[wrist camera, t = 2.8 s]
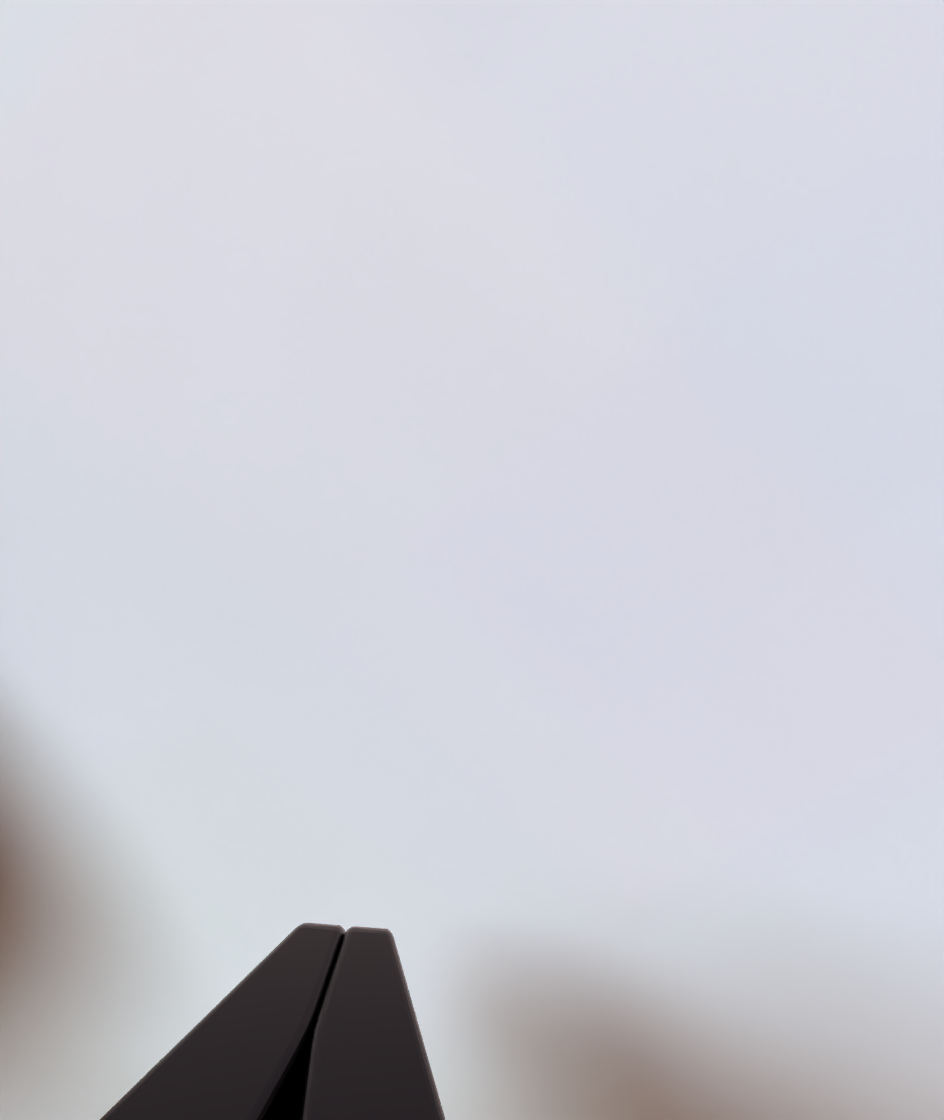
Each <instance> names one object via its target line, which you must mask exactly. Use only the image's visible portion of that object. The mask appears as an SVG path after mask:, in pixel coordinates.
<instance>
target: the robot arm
mask: <svg viewBox="0 0 944 1120" xmlns="http://www.w3.org/2000/svg"><path fill="white" fill-rule="evenodd" d="M100 1120H445V1117H444V1113H443V1110H442V1106H441V1103H440V1099H439V1096H438V1092H437V1089H436V1085H435V1082H434V1078H433V1075H432V1071H431V1068H430V1064H429V1061H428V1057H427V1054H426V1050H425V1046H424V1043H423V1039H422V1036H421V1032H420V1029H419V1025H418V1022H417V1018H416V1015H415V1011H414V1008H413V1004H412V1001H411V997H410V994H409V990H408V987H407V983H406V980H405V976H404V972H403V969H402V965H401V962H400V958H399V955H398V951H397V948H396V944H395V941H394V937H393V935H392V933H391V932H390V931H389V930H387V929H381V928H368V927H351V928H349V929H348V930H347V931H346V932H345V930H344V929H343V928H342V927H341V926H339V925H328V924H315V923H304V924H302V925H300V926H298V927H297V928H295V929H294V930H293V931H292V932H291V933H290V934H289V935H288V936H287V937H286V938H285V939H284V940H283V941H282V942H281V943H280V944H279V945H278V946H277V947H276V948H275V949H274V950H273V951H272V952H271V953H270V954H269V955H268V956H267V957H266V958H265V959H264V960H263V961H262V962H261V963H260V964H259V965H258V966H257V967H256V968H255V969H254V970H253V971H251V972H250V973H249V974H248V975H247V976H246V977H245V978H244V979H243V980H242V981H241V982H240V983H239V984H238V985H237V986H236V987H235V988H234V989H233V990H232V991H231V992H230V993H229V994H228V995H227V996H226V997H225V998H224V999H223V1000H222V1001H221V1002H220V1003H219V1004H218V1005H217V1006H216V1007H215V1008H214V1009H213V1010H212V1011H211V1012H210V1013H209V1014H208V1015H206V1016H205V1017H204V1018H203V1019H202V1020H201V1021H200V1022H199V1023H198V1024H197V1025H196V1026H195V1027H194V1028H193V1029H192V1030H191V1031H190V1032H189V1033H188V1034H187V1035H186V1036H185V1037H184V1038H183V1039H182V1040H181V1041H180V1042H179V1043H178V1044H177V1045H176V1046H175V1047H174V1048H173V1049H172V1050H171V1051H170V1052H169V1053H168V1054H167V1055H166V1056H165V1057H164V1058H162V1059H161V1060H160V1061H159V1062H158V1063H157V1064H156V1065H155V1066H154V1067H153V1068H152V1069H151V1070H150V1071H149V1072H148V1073H147V1074H146V1075H145V1076H144V1077H143V1078H142V1079H141V1080H140V1081H139V1082H138V1083H137V1084H136V1085H135V1086H134V1087H133V1088H132V1089H131V1090H130V1091H129V1092H128V1093H127V1094H126V1095H125V1096H124V1097H123V1098H122V1099H121V1100H120V1101H119V1102H117V1103H116V1104H115V1105H114V1106H113V1107H112V1108H111V1109H110V1110H109V1111H108V1112H107V1113H106V1114H105V1115H104V1116H103V1117H102V1118H101V1119H100Z"/></svg>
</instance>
